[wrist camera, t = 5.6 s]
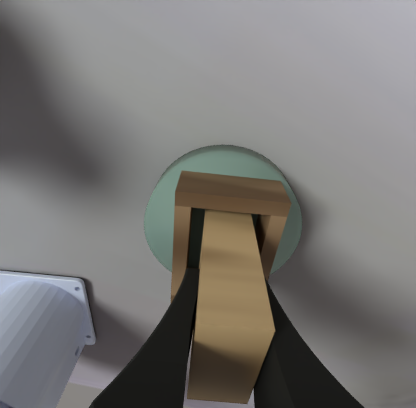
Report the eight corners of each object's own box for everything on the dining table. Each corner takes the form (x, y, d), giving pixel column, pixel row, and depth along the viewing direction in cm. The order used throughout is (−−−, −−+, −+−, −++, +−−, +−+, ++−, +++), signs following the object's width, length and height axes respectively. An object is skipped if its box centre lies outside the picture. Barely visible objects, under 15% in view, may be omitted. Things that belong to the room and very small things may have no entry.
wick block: (236, 277, 17) (247, 404, 11) (198, 273, 17) (186, 398, 11) (250, 212, 14) (275, 330, 8) (205, 207, 14) (196, 323, 8)
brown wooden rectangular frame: (253, 281, 19) (258, 311, 17) (176, 274, 19) (170, 303, 16) (280, 180, 15) (291, 203, 12) (181, 170, 14) (175, 191, 12)
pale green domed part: (274, 269, 21) (280, 293, 19) (153, 257, 21) (145, 280, 19) (310, 153, 16) (324, 169, 14) (151, 136, 16) (141, 149, 14)
